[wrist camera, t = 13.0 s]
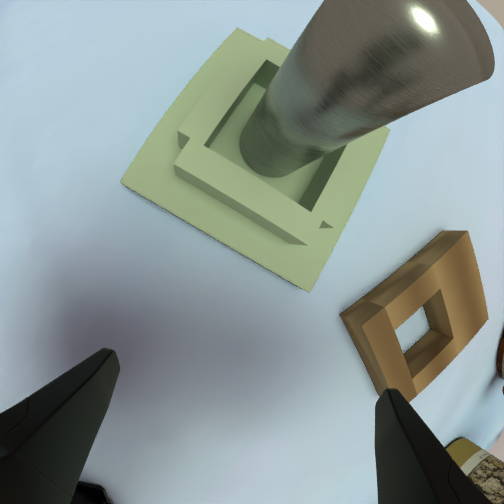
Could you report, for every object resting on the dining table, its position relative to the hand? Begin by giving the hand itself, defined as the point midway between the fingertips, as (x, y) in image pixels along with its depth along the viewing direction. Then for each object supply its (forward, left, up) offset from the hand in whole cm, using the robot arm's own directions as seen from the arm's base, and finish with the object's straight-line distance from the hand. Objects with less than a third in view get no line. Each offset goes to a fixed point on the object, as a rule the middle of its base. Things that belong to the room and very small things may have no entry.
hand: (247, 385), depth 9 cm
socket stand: (+3, +10, -10) cm, 15 cm away
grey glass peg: (+3, +10, -9) cm, 14 cm away
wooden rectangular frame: (+16, -1, -10) cm, 19 cm away
